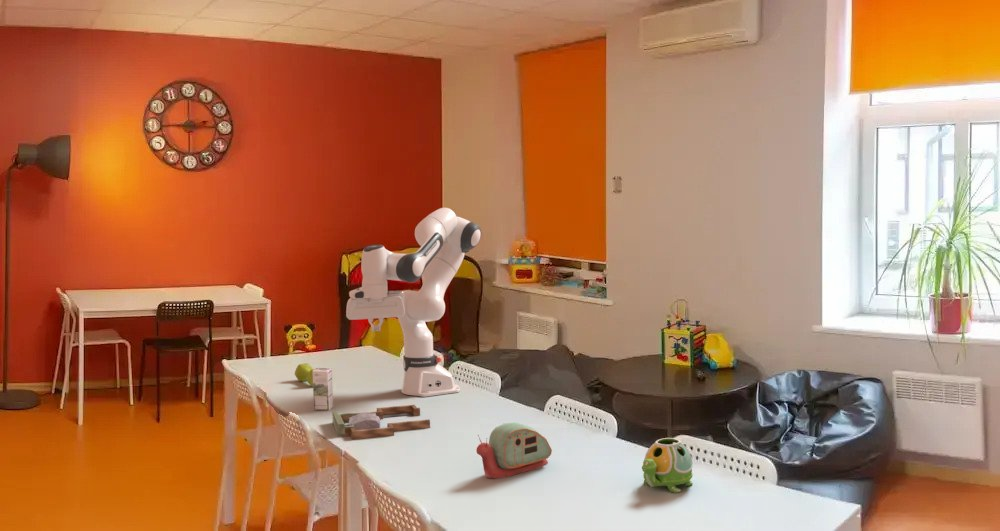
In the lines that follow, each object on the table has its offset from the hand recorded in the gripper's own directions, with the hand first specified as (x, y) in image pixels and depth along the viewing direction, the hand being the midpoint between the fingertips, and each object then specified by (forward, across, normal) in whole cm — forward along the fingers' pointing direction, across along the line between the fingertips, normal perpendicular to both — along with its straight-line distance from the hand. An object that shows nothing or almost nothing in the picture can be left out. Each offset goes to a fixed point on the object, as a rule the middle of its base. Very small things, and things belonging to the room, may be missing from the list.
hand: (376, 330), depth 316 cm
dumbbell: (+29, +19, -54) cm, 65 cm away
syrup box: (+29, +18, -12) cm, 36 cm away
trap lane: (+29, +2, +17) cm, 34 cm away
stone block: (+30, +8, +17) cm, 35 cm away
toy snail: (+30, -26, +76) cm, 86 cm away
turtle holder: (+30, -60, +102) cm, 122 cm away
